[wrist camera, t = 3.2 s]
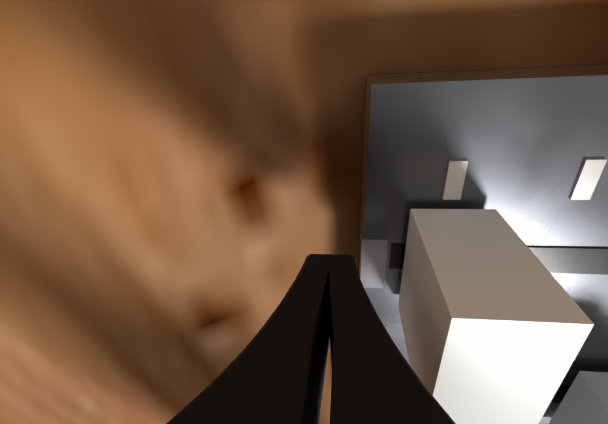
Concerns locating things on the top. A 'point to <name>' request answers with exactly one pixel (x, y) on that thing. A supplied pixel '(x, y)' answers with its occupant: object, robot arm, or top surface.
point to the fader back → (584, 400)
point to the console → (493, 178)
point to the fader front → (484, 318)
